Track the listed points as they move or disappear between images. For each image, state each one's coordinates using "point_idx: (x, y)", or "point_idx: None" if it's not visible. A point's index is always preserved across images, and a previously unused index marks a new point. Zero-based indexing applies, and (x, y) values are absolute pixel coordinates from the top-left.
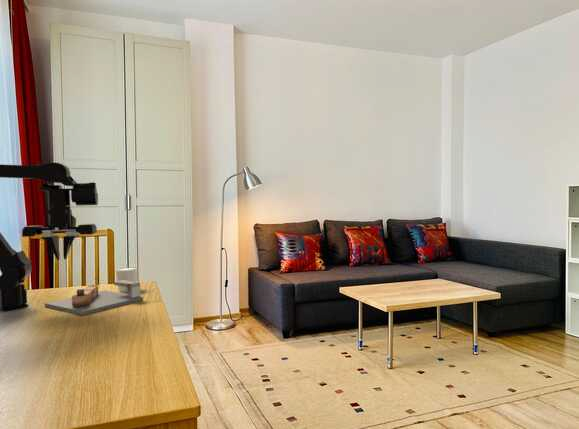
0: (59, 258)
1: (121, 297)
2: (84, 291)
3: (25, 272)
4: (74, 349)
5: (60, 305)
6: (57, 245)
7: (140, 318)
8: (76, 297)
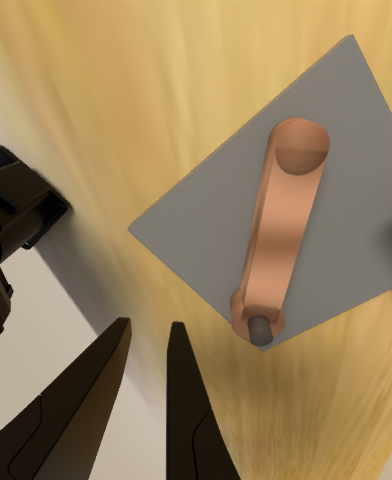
0: (128, 324)
1: (388, 238)
2: (267, 267)
3: (2, 323)
4: (261, 461)
5: (191, 278)
6: (68, 457)
7: (374, 393)
8: (247, 339)
